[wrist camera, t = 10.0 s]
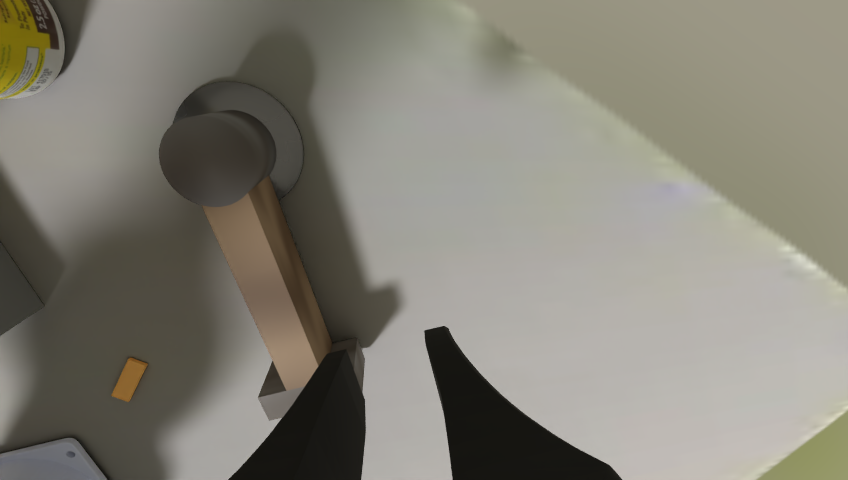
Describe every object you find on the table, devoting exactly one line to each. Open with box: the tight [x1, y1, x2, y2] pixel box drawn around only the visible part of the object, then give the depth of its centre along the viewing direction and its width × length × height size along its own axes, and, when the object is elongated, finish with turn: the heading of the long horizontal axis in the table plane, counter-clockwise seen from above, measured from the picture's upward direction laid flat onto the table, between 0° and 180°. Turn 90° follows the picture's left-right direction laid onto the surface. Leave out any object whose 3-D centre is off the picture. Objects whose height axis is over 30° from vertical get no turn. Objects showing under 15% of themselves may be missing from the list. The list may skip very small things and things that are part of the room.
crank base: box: [173, 82, 304, 200], centre depth 19 cm, size 6×6×1 cm
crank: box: [159, 110, 365, 421], centre depth 20 cm, size 15×5×3 cm, turn 12°
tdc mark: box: [111, 357, 148, 402], centre depth 24 cm, size 3×1×1 cm, turn 147°
